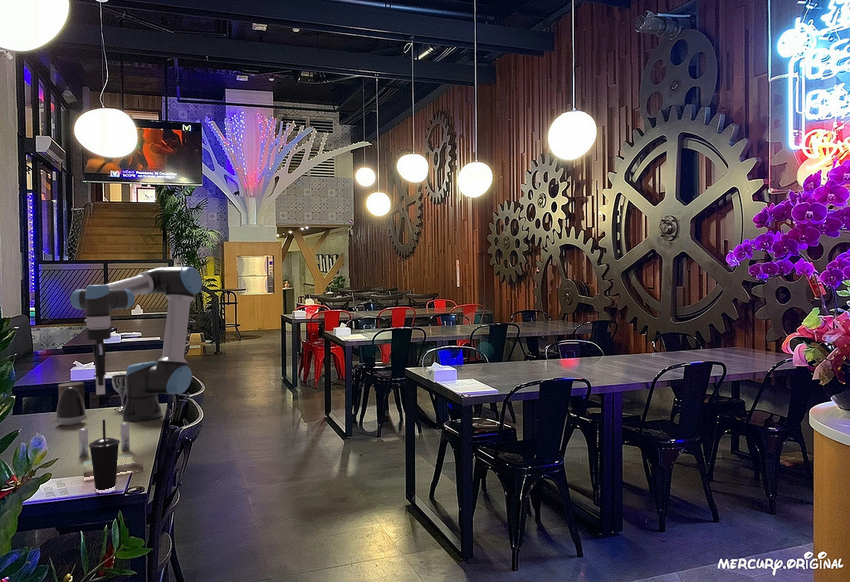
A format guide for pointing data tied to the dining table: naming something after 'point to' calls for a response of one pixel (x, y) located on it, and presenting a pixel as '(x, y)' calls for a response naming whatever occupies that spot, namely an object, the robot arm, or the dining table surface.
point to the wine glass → (120, 386)
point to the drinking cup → (104, 461)
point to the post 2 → (125, 437)
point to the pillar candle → (73, 384)
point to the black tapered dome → (70, 407)
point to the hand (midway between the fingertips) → (100, 394)
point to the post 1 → (83, 442)
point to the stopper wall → (120, 468)
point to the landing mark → (91, 460)
